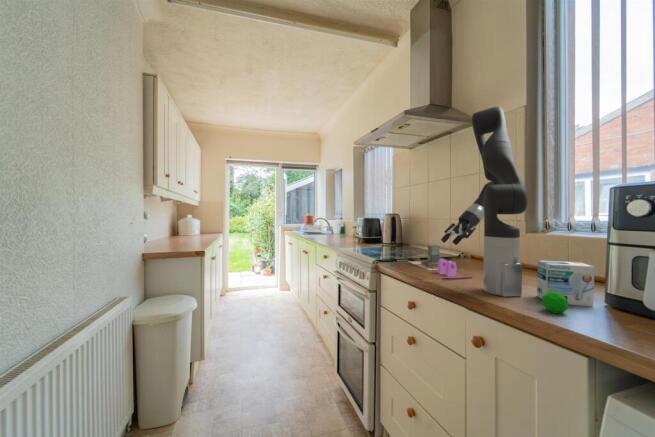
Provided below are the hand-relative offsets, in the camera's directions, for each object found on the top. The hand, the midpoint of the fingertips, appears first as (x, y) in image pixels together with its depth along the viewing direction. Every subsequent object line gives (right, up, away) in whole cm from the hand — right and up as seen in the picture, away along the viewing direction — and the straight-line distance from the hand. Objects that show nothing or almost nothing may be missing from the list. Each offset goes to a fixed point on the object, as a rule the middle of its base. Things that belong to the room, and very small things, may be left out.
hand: (448, 242), depth 118 cm
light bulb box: (+13, -13, -42) cm, 46 cm away
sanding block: (-7, -10, -1) cm, 12 cm away
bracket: (-3, -12, -14) cm, 19 cm away
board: (-7, -12, +3) cm, 14 cm away
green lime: (+4, -13, -51) cm, 53 cm away
